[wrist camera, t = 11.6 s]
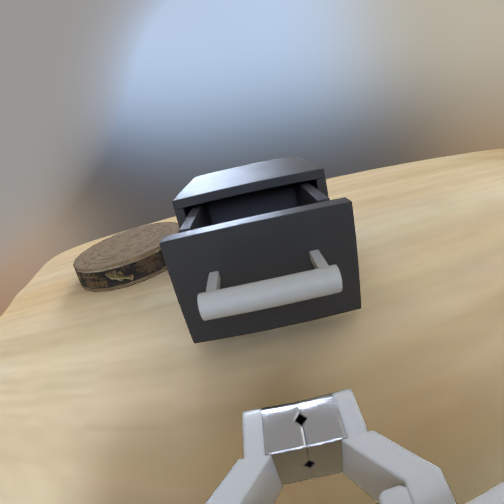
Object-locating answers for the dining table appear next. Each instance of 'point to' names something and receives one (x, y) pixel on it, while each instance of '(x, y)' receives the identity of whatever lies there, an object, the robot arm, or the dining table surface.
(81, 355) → the dining table surface
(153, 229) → the round wood slice
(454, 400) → the dining table surface
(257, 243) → the drawer
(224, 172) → the cabinet
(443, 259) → the dining table surface
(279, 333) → the dining table surface
